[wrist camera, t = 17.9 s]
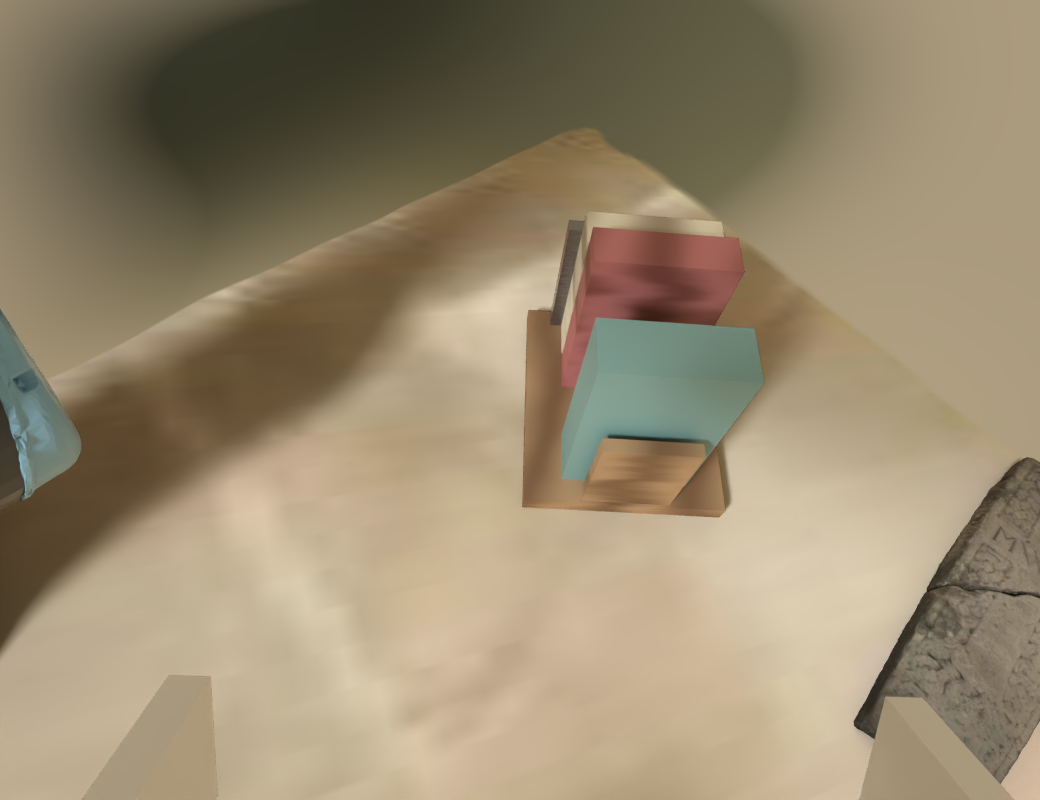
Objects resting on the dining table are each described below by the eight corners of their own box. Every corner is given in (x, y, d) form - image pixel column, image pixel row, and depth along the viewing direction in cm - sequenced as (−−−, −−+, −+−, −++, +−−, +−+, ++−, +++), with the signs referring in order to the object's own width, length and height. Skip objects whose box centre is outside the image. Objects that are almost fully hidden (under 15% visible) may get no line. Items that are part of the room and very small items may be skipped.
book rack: (522, 506, 53) (548, 397, 38) (527, 319, 62) (549, 171, 47) (719, 517, 54) (820, 414, 39) (694, 331, 63) (769, 189, 48)
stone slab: (852, 712, 46) (1037, 440, 57) (830, 714, 49) (1010, 454, 60) (988, 839, 43) (1155, 526, 54) (956, 833, 46) (1121, 537, 57)
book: (561, 479, 53) (598, 372, 39) (561, 434, 55) (595, 317, 41) (685, 486, 53) (764, 383, 40) (680, 441, 55) (754, 328, 42)
